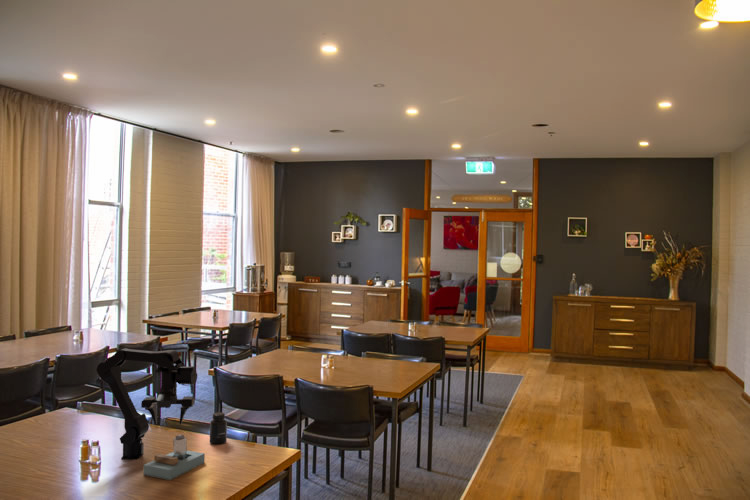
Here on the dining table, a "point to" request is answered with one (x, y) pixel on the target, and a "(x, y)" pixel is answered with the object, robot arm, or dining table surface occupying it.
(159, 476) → the socket
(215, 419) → the supplement bottle
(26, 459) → the dining table surface
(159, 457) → the lock bar
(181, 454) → the grey cylindrical piece
